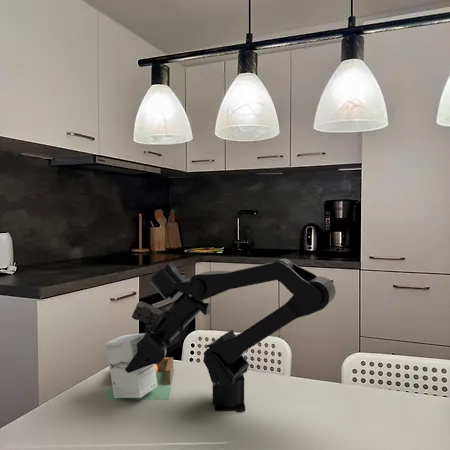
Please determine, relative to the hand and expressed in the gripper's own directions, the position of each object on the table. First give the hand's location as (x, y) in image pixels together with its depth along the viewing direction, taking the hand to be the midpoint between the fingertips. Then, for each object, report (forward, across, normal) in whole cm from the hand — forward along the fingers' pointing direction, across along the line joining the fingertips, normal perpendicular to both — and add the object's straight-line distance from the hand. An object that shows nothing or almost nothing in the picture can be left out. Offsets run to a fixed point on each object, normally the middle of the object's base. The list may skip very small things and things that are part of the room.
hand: (130, 363), depth 96 cm
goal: (+4, -10, +6) cm, 13 cm away
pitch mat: (+4, -7, +6) cm, 10 cm away
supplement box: (+4, 0, +6) cm, 7 cm away
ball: (+1, -12, +5) cm, 13 cm away
